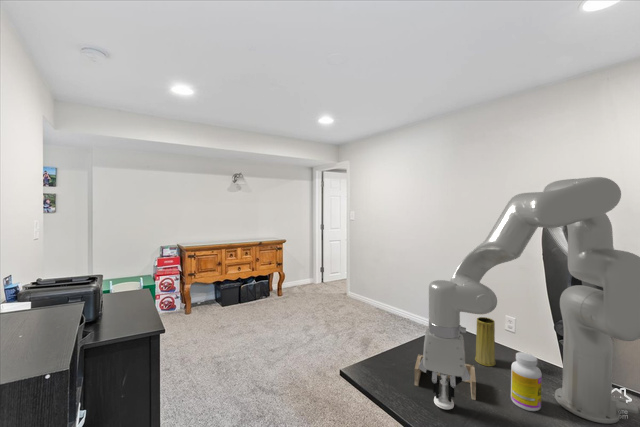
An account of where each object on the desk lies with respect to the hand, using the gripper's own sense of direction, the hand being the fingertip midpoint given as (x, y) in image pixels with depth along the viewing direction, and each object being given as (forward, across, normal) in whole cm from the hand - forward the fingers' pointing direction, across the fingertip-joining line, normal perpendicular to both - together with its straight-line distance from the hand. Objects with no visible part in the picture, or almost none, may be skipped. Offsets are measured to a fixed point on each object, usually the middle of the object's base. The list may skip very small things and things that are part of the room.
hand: (443, 396), depth 78 cm
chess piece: (+2, 0, 0) cm, 2 cm away
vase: (+3, -12, -29) cm, 31 cm away
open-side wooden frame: (+3, 0, -10) cm, 10 cm away
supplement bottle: (+3, -20, -10) cm, 22 cm away
